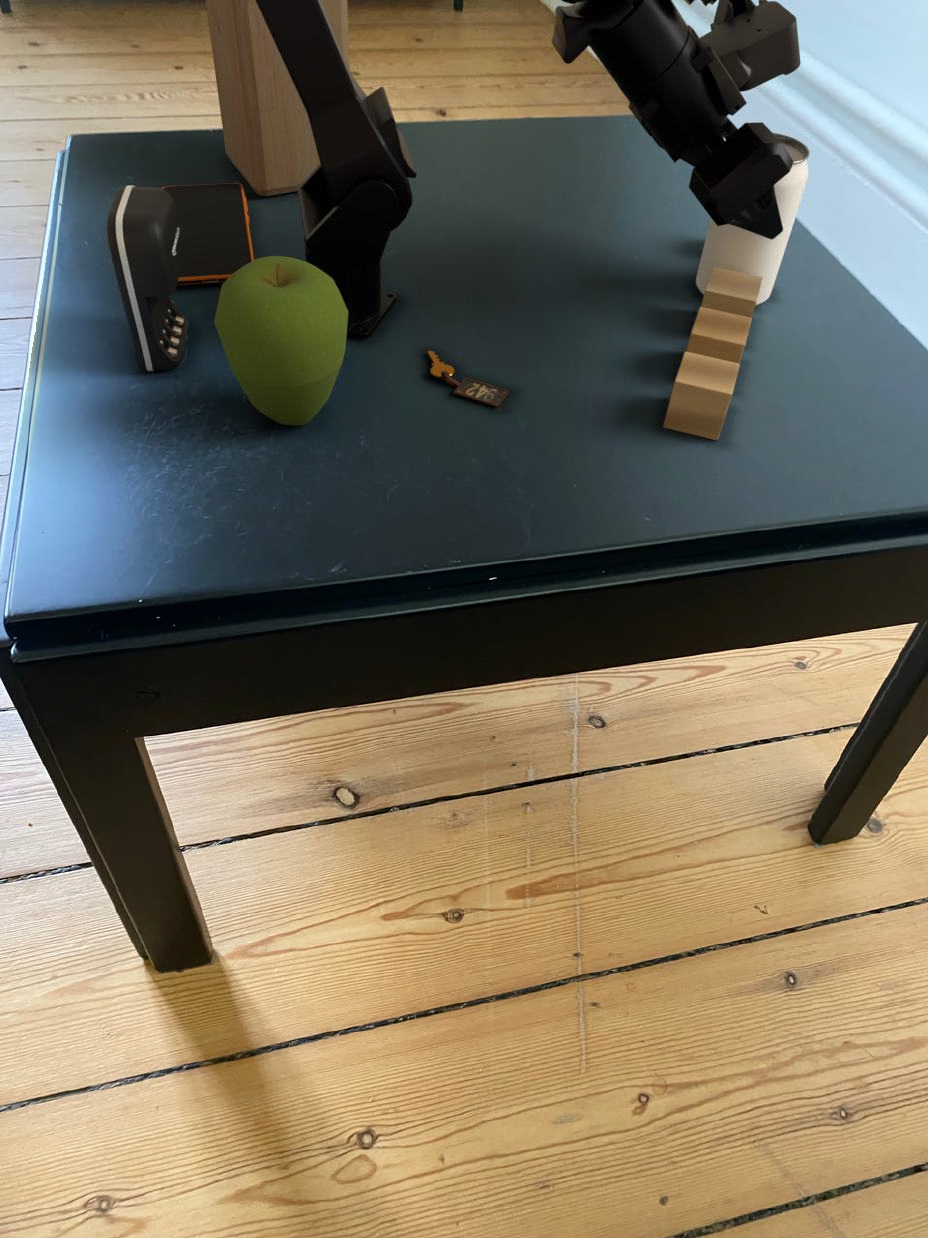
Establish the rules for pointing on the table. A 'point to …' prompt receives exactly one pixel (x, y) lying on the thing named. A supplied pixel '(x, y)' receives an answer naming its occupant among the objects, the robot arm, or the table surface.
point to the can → (750, 249)
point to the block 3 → (701, 395)
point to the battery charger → (149, 273)
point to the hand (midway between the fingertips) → (754, 206)
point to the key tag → (467, 384)
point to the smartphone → (212, 231)
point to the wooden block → (263, 96)
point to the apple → (283, 335)
